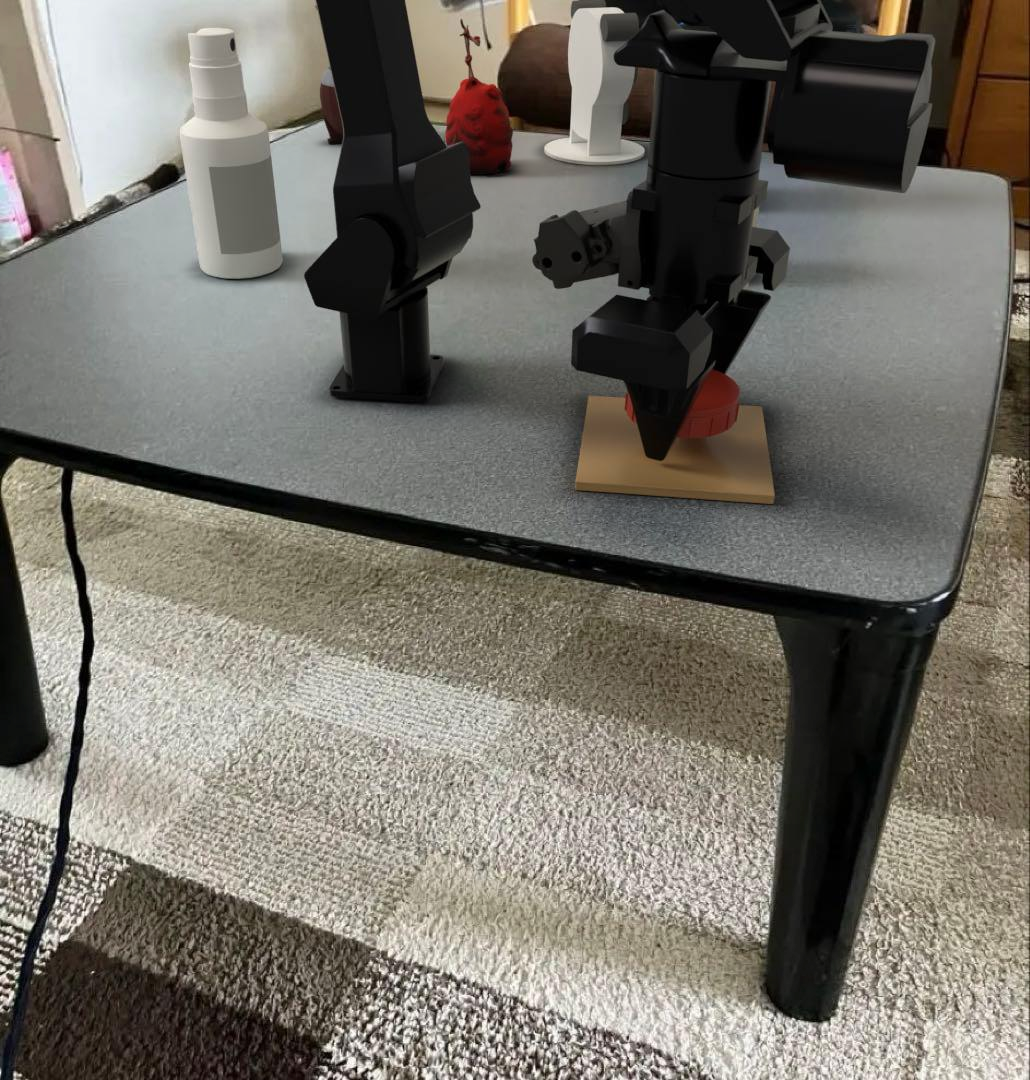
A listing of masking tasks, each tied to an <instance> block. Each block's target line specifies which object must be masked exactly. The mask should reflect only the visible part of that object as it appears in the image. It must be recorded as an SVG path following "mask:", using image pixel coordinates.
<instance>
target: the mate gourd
mask: <svg viewBox="0 0 1030 1080" xmlns="http://www.w3.org/2000/svg"><path fill="white" fill-rule="evenodd" d="M314 8H315V9H316V10H317V5H316V4H315V6H314ZM317 12H318V10H317ZM319 99H320V105H321V111H322V112H321V113H322V117H323V118H322V119H323V121H324V124H325V127H326V130H327V133H328V136H329V138H327V143H328V145H339V144H342V142H343V124H342V120H341V115H340V110H339V106H338V101H337V97H336V92H335V88H334V83H333V78H332V74H331V69H330V65H329V66H328V67H327V68H326V69H325V70H324V72H323V74H322V76H321V78H320V86H319Z"/></svg>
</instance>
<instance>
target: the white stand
mask: <svg viewBox="0 0 1030 1080" xmlns="http://www.w3.org/2000/svg"><path fill="white" fill-rule="evenodd" d="M570 18H571V24H570V28H569V36H568V44H567V45H568V46H567V61H568V62H567V64H568V65H567V67H568V74H569V76H568V77H569V81H570V85H571V103H570V105H571V106H570V126H569V137H564V138H563V137H562V138H559V139H555V140H552V141H549V142H548V143H546V144H545V145H544V146H543V147H544V151H543V152H544V154H545V155H546V156H547V157H549V158H551V159H553V160H556V161H559V162H565V163H569V164H577V165H583V166H585V165H586V166H587V165H588V166H612V165H613V166H614V165H622V164H628V163H632V162H635V161H638V160H641V159H642V158H643V157H644V156H645V151H646V150H645V148H644V147H643V146H642V145H641V144H638V143H637V142H634V141H631V140H627V139H623V138H622V128H623V127H622V125H625V124H626V123H627V121H628V119H629V114H630V112H629V103H628V102H627V100H628V99H629V97H630V95H631V92H632V89H633V85H634V84H635V83H636V82H637V79H638V73H639V68H637V67H627V66H619V65H617V64H616V63H615V61H614V58H613V57H614V53H615V51H616V50H617V49H619V48H620V47H622V46H623V45H624V44H625V43H626V42H628V41H629V40H630V39H631V38H632V37H633V36H634V35H635V34H636V33H637V32H638V31H639V29H640V20H639V16H638V15H637V13H636V12H624V11H623V10H622V9H621V8H619V7H615V6H614V7H612V6H611V7H607V2H606V0H572V2H571V5H570Z"/></svg>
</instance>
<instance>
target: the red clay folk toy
mask: <svg viewBox="0 0 1030 1080" xmlns="http://www.w3.org/2000/svg"><path fill="white" fill-rule="evenodd" d="M460 26H461V28H462V29H463V32H462V33H460V34H459V37H463V40H464V44H465V50H466V55H465V56H464V63H465V64H466V66H468V78H464V79H463V80H461V81H460V83H459V88H458V90H457V91H456V93H455V94H454V96H453V98H452V99H451V101H450V104H449V111H448V113H447V116H446V121H445V126H446V129H445V135H444V136H445V144H446V146H449V145H453V144H456V143H459V142H465V143H466V145H467V148H468V151H469V154H470V174H473V175H490V174H497V173H499V172H507V171H509V170H510V169H511V167H512V162H511V158H512V151H513V141H512V138H513V134H514V131H513V127H512V125H511V118H510V113H509V109H508V107H507V105H506V104H505V103H504V100H503V92H502V90H501V89H500V88H499V87H497V85H496V84H495V83H489V84H488V83H484V82H482V81H481V80H480V79H478V78H477V77H475V75H474V71H473V68H472V67H473V66H472V60H473V56H472V54H471V50H470V49H471V45H470V44H471V42H473V43H474V45H475V46H476V47H480V46H481V37H480V36H479V35H475V36H473V35H471V34H470V30H469V25H468V24H466V26H465V24H464V20H463V18H460ZM470 41H471V42H470Z"/></svg>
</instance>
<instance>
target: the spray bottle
mask: <svg viewBox="0 0 1030 1080" xmlns="http://www.w3.org/2000/svg"><path fill="white" fill-rule="evenodd" d="M187 39H188V47H189V52H190V53H189V54H190V56H189V60H190V62H189V63H188V68H189V75H190V81H191V88H192V93H191V97H192V102H193V103H192V104H193V110H194V116H193V117H191V118H190V119H189V120H187V122H185V123H184V124H182V125H181V127H180V128H179V140H180V147H181V154H182V159H183V167H184V172H185V173H184V174H185V179H186V185H187V186H186V187H187V192H188V198H189V205H190V210H191V212H190V213H191V218H192V224H193V230H194V236H195V243H196V249H197V255H198V262H199V263H198V264H199V267H200V269H201V271H202V272H204V274H206V275H208V276H212V277H215V278H220V279H233V280H234V279H235V280H236V279H237V280H241V279H250V278H251V279H253V278H256V277H261V276H264V275H265V276H266V275H267V274H268V275H269V274H270V273H273V272H274V271H276V270H278V269H279V268H280V267H281V265H282V264H283V262H284V261H283V260H284V259H283V249H282V241H281V232H280V231H281V230H280V223H279V215H278V205H277V195H276V187H275V186H276V185H275V178H274V177H275V176H274V170H273V169H274V168H273V161H272V150H271V142H270V141H271V140H270V132H269V129H268V126H267V124H266V123H265V122H264V121H262V120H260V118H257V117H255V116H253V115H252V114H250V113H249V108H248V101H247V100H248V99H247V92H246V90H245V86H244V85H245V84H244V75H243V69H242V67H243V66H242V61H240V60H239V55H238V52H237V44H236V36H235V31H234V30H233V29H231V28H225V27H202V28H200V29H199V30H198V31H196V32H189V33H188V32H187Z"/></svg>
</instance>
